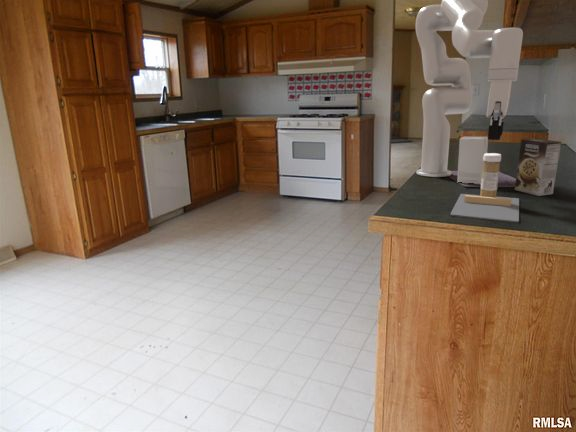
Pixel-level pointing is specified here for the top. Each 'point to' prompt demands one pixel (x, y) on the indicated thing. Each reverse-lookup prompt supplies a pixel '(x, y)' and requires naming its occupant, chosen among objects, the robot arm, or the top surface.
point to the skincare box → (471, 159)
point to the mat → (487, 208)
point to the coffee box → (537, 166)
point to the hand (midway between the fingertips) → (494, 137)
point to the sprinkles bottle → (490, 174)
